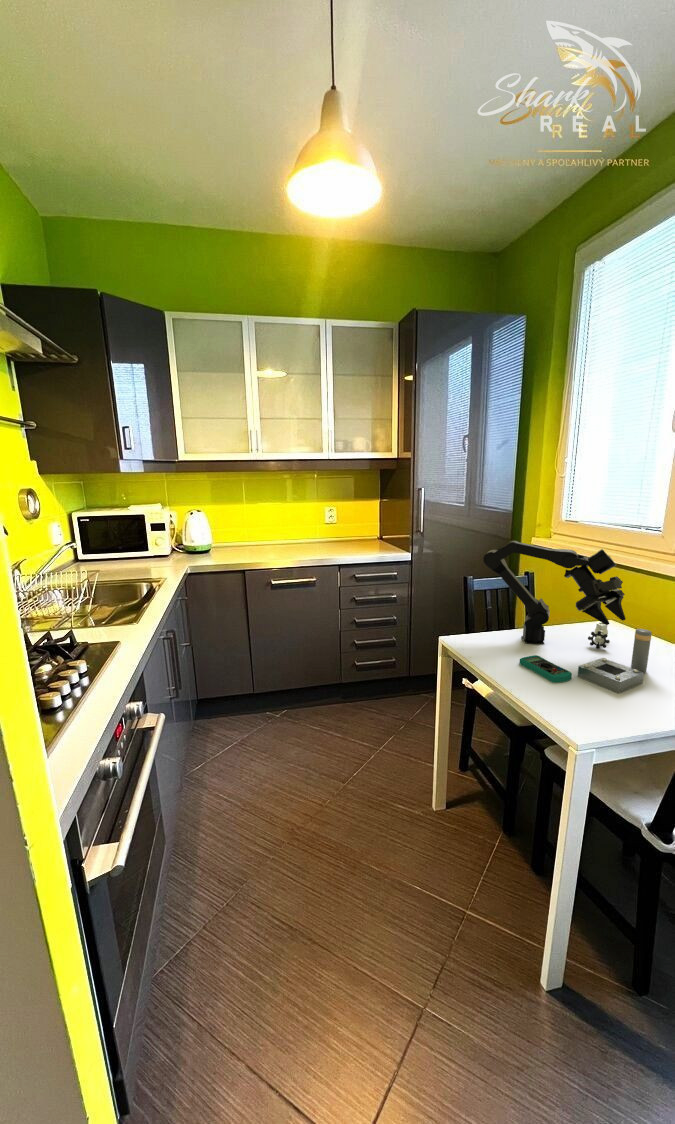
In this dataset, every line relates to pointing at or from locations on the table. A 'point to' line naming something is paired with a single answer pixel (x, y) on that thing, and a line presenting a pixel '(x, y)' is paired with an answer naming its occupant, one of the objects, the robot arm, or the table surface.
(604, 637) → the valve
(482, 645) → the table surface
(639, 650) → the plug
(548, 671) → the digital multimeter
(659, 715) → the table surface
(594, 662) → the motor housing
